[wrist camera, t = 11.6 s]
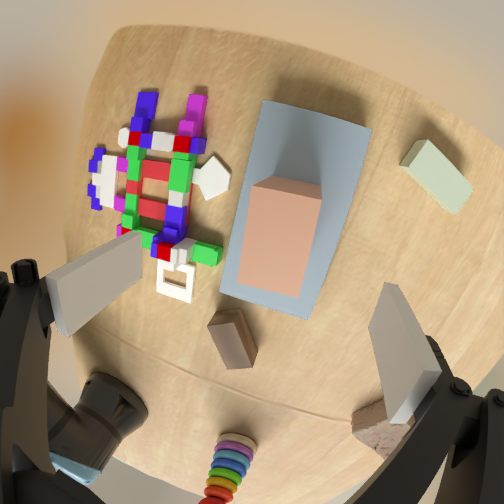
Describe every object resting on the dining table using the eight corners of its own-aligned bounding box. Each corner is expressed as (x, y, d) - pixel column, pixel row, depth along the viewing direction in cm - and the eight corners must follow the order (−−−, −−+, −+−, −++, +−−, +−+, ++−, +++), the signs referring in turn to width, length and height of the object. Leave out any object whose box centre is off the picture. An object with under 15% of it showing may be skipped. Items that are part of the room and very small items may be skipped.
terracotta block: (259, 246, 28) (236, 282, 20) (272, 175, 25) (251, 185, 18) (305, 257, 27) (298, 297, 20) (321, 185, 24) (321, 200, 17)
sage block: (442, 208, 25) (455, 215, 22) (398, 165, 25) (408, 167, 22) (459, 184, 24) (474, 188, 21) (416, 140, 24) (427, 139, 21)
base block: (229, 276, 34) (218, 291, 31) (270, 106, 27) (263, 99, 23) (309, 301, 33) (308, 320, 29) (364, 132, 25) (372, 129, 22)
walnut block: (234, 353, 38) (227, 369, 35) (216, 311, 36) (206, 326, 33) (258, 350, 37) (252, 367, 34) (241, 307, 35) (233, 322, 32)
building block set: (103, 94, 30) (80, 91, 26) (251, 101, 27) (239, 93, 23) (93, 263, 39) (74, 274, 35) (215, 306, 36) (202, 325, 32)
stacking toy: (266, 446, 45) (243, 528, 28) (240, 454, 48) (215, 527, 31) (235, 427, 44) (202, 512, 27) (210, 437, 47) (177, 511, 30)
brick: (348, 414, 38) (348, 436, 34) (393, 391, 35) (398, 414, 30) (390, 447, 40) (391, 466, 36) (428, 429, 37) (432, 448, 32)
